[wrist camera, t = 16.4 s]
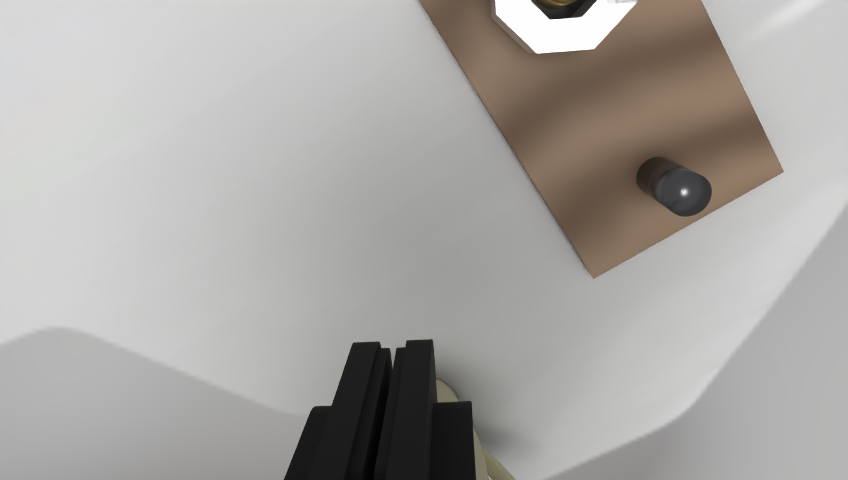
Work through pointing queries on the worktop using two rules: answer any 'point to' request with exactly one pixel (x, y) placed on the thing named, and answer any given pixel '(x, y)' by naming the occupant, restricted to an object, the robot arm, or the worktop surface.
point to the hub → (558, 8)
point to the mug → (476, 444)
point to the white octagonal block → (558, 24)
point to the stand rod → (674, 186)
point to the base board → (615, 118)
